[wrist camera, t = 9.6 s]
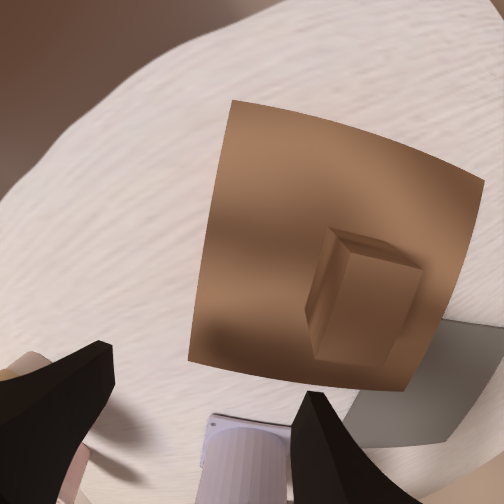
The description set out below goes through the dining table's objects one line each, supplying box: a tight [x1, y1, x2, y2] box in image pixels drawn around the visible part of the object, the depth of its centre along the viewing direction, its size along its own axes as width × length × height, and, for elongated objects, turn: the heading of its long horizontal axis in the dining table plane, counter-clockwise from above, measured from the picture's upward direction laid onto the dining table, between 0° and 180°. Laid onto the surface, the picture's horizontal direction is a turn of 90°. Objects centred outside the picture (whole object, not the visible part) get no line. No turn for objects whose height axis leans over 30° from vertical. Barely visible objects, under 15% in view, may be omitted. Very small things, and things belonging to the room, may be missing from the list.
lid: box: [188, 100, 485, 392], centre depth 12 cm, size 13×13×5 cm
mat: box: [342, 319, 504, 448], centre depth 21 cm, size 15×15×1 cm
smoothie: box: [56, 442, 91, 504], centre depth 20 cm, size 6×6×14 cm
